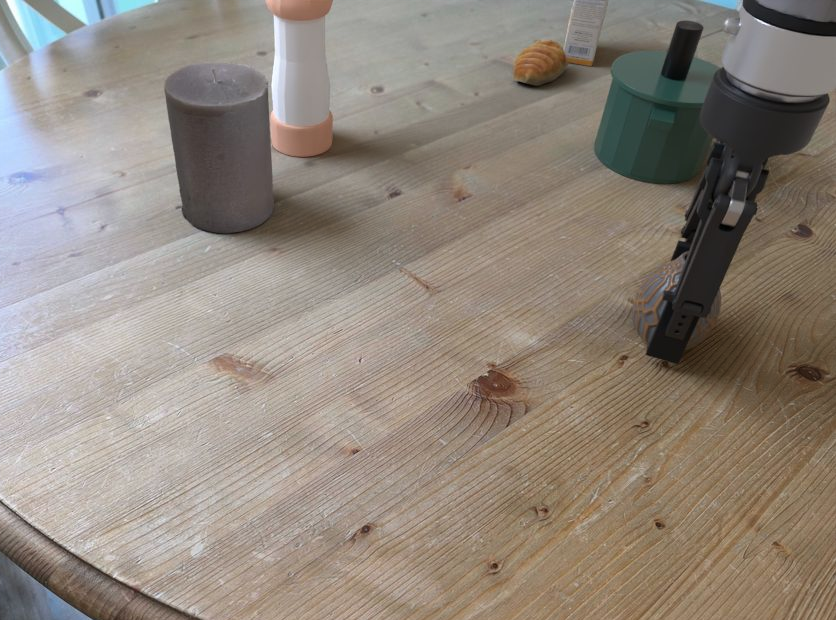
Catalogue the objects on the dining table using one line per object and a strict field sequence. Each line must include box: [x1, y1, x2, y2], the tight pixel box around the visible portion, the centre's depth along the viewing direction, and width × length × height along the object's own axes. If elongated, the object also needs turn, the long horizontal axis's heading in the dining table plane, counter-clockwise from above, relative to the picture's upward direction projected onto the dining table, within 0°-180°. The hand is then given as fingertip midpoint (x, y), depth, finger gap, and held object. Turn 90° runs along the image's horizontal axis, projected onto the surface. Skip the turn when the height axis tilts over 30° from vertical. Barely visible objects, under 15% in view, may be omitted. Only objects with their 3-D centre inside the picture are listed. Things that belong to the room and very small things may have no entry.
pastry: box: [512, 39, 569, 87], centre depth 105 cm, size 9×7×4 cm
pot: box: [593, 78, 714, 185], centre depth 88 cm, size 13×18×10 cm
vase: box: [631, 251, 722, 352], centre depth 64 cm, size 7×7×9 cm
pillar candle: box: [163, 61, 275, 234], centre depth 74 cm, size 10×10×15 cm
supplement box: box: [563, 0, 610, 67], centre depth 108 cm, size 8×5×13 cm, turn 163°
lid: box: [610, 20, 722, 108], centre depth 82 cm, size 14×14×7 cm
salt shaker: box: [265, 0, 334, 158], centre depth 83 cm, size 7×7×19 cm
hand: (666, 328), depth 67 cm, fingers closed on vase, 7 cm apart
